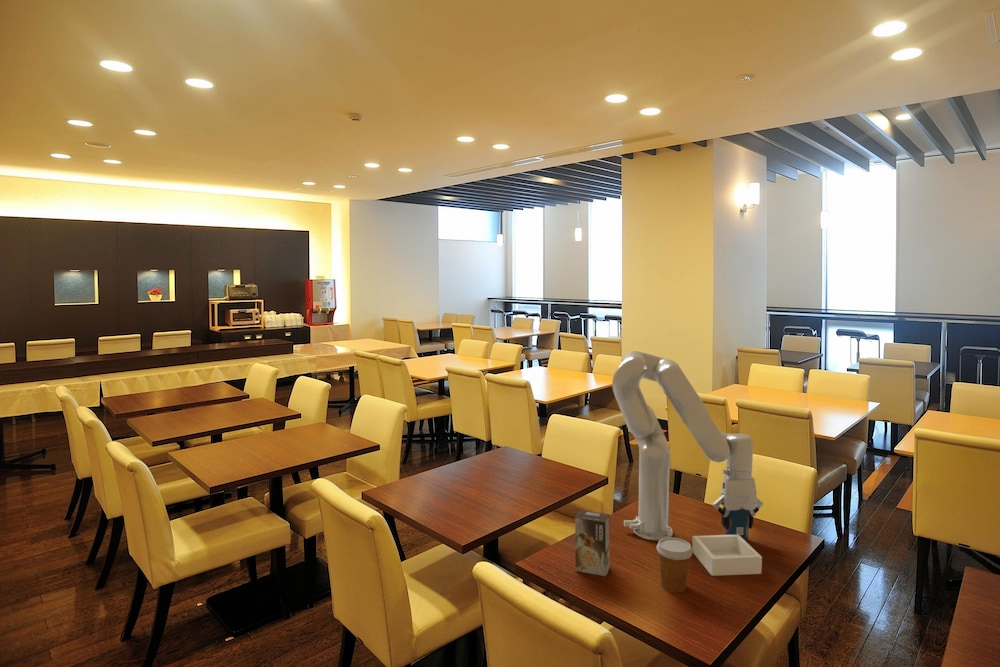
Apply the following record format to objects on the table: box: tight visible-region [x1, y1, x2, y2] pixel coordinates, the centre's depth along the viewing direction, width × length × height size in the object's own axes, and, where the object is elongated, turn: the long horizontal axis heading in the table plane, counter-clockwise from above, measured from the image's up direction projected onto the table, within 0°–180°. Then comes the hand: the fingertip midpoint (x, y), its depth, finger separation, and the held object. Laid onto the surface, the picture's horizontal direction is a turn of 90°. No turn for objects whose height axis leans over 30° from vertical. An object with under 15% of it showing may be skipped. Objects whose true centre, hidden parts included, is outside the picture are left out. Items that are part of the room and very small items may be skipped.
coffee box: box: [574, 509, 610, 577], centre depth 169 cm, size 9×6×16 cm
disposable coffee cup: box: [656, 537, 694, 593], centre depth 159 cm, size 10×10×12 cm
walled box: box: [691, 534, 763, 577], centre depth 173 cm, size 14×14×5 cm
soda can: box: [724, 507, 750, 542], centre depth 187 cm, size 7×7×12 cm
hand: (737, 526), depth 187 cm, fingers closed on soda can, 6 cm apart
